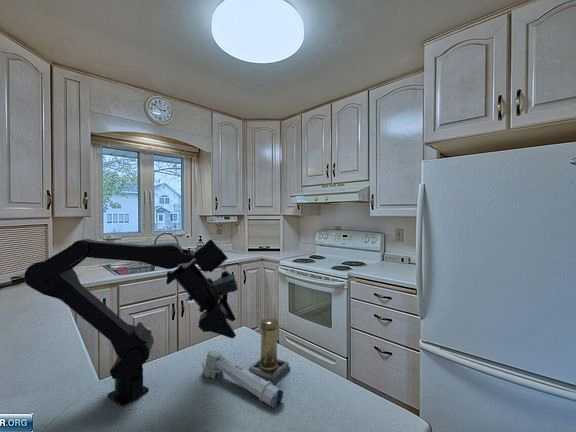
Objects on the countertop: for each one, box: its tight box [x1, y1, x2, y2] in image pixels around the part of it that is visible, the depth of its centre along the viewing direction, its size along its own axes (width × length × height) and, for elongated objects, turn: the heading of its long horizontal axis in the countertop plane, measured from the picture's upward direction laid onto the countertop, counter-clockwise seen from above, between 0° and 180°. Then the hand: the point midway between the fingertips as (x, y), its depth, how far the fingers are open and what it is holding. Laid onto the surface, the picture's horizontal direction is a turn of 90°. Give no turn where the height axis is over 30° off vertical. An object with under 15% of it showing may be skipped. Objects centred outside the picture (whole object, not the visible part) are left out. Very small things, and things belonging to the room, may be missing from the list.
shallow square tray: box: [248, 358, 291, 386], centre depth 76 cm, size 8×8×2 cm
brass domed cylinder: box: [260, 318, 279, 374], centre depth 76 cm, size 5×5×13 cm
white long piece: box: [202, 349, 284, 409], centre depth 70 cm, size 5×7×25 cm
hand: (234, 328), depth 73 cm, fingers open, 9 cm apart
